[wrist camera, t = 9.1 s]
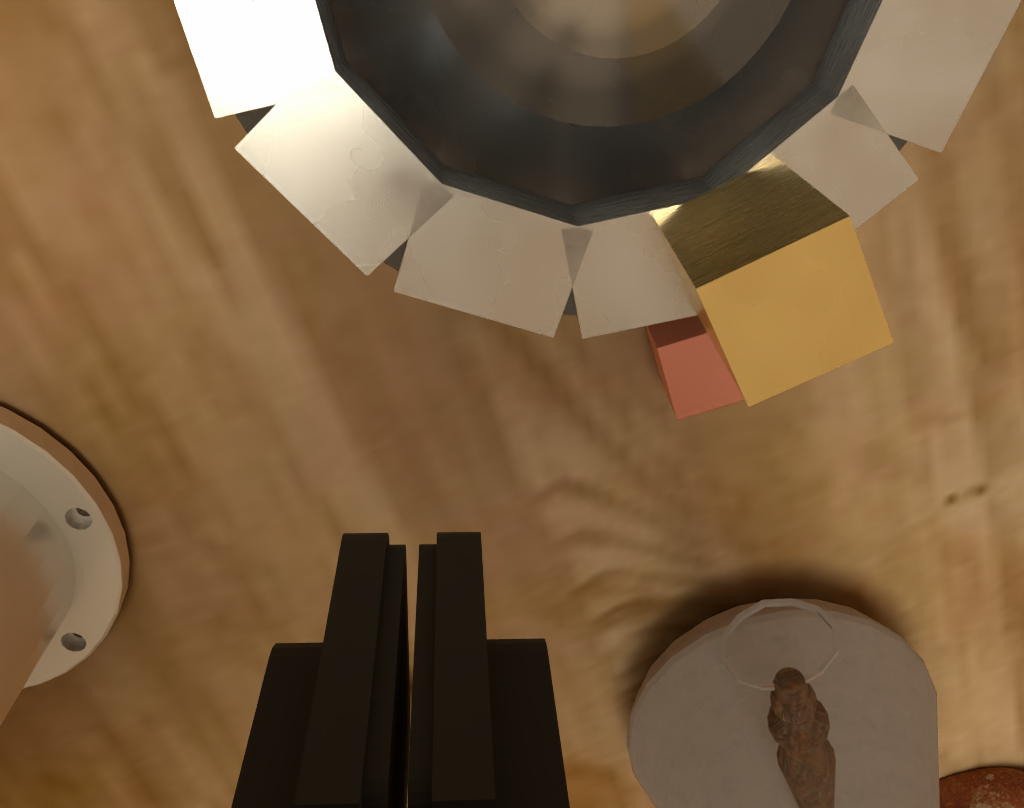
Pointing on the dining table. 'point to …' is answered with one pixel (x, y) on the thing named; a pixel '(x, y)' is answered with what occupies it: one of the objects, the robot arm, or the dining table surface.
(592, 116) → the grey round platform
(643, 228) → the crenellated round base
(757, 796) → the coffee pot
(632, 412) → the dining table surface
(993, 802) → the bread roll
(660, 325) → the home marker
